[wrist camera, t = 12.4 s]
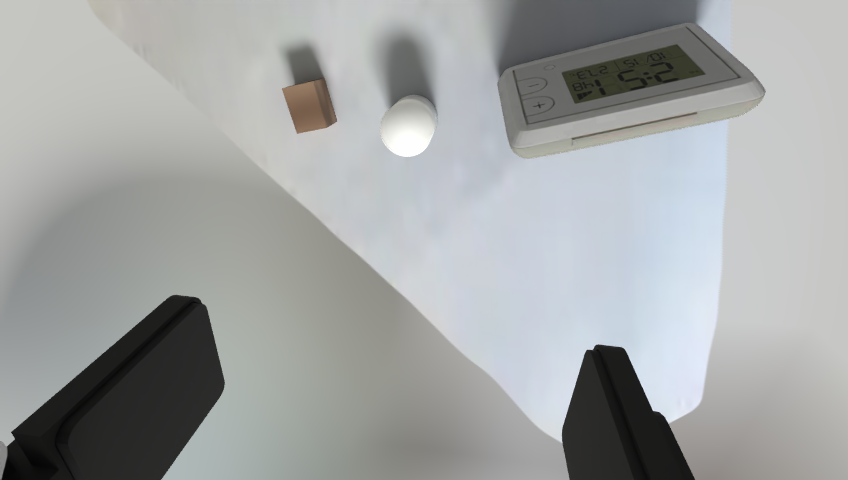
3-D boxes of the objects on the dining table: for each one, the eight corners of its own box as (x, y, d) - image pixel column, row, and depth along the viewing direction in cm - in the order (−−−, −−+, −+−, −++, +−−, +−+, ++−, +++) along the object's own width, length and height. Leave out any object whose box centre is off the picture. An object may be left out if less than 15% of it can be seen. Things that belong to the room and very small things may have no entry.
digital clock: (706, 21, 33) (797, 18, 23) (679, 135, 37) (747, 172, 27) (498, 32, 35) (504, 33, 25) (495, 139, 39) (499, 174, 29)
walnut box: (295, 84, 39) (281, 88, 36) (324, 77, 38) (312, 81, 36) (309, 126, 40) (297, 133, 38) (337, 121, 40) (327, 127, 37)
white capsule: (391, 93, 38) (379, 102, 34) (438, 95, 38) (433, 104, 33) (391, 141, 40) (380, 154, 36) (436, 143, 40) (430, 158, 35)
